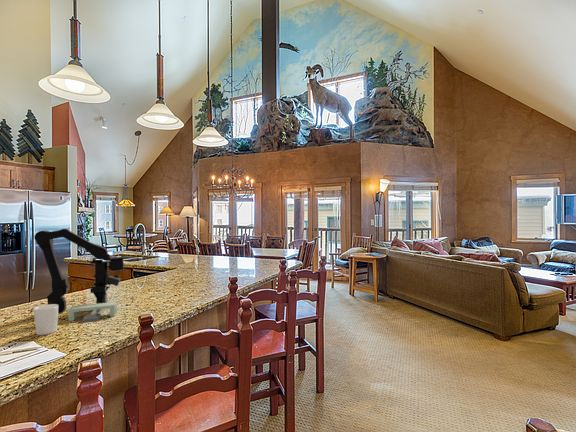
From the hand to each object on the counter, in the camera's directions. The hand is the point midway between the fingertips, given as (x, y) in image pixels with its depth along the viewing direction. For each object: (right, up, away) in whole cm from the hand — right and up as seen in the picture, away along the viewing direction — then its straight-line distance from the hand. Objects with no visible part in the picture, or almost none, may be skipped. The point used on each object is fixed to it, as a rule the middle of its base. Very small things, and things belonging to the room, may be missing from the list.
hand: (101, 302), depth 166 cm
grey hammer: (+3, -2, -8) cm, 9 cm away
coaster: (+7, -2, -21) cm, 22 cm away
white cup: (-1, -2, -36) cm, 36 cm away
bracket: (+6, -2, -17) cm, 18 cm away
